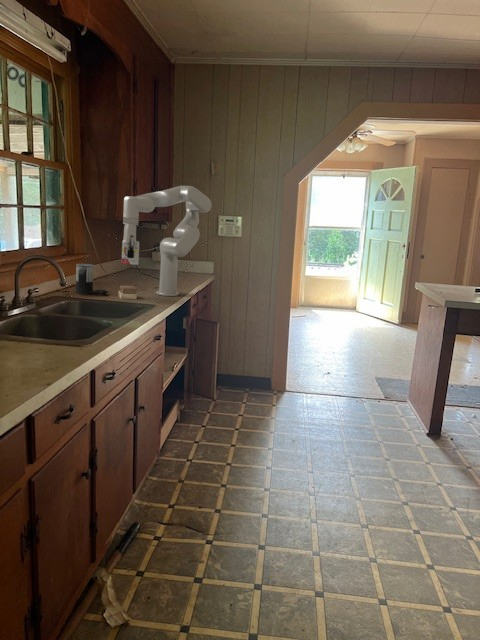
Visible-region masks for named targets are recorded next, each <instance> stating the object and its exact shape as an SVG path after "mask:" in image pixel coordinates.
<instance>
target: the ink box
mask: <svg viewBox="0 0 480 640" xmlns="http://www.w3.org/2000/svg"><path fill="white" fill-rule="evenodd" d="M121 243H122V245H121V246H122V247H121V264H122V265H135V266H136V265H137V266H138V265H139V257H140V241H139V240H136V243H135V242H134V243H135V244H134V258H127V251H128V243H127V244H125V241H124V240H122V241H121ZM129 244H131V243H129Z"/></svg>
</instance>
